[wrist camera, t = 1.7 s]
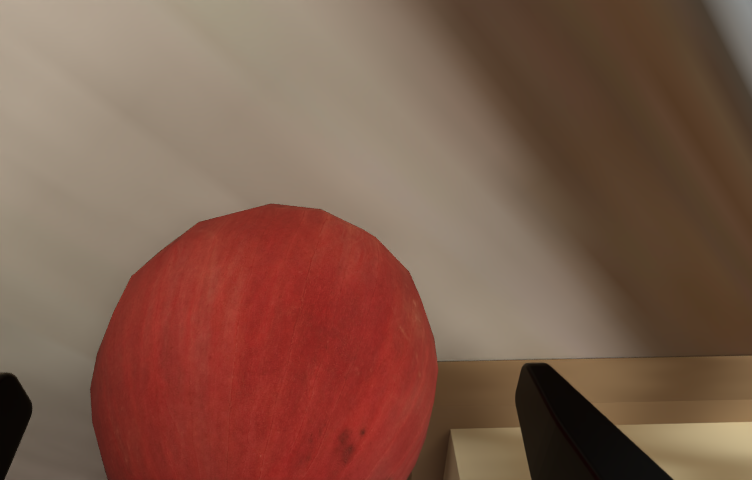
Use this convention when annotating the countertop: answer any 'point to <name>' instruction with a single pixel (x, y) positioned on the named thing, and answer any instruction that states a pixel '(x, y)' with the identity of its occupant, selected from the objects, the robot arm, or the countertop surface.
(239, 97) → the countertop surface
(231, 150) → the countertop surface
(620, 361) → the cradle board
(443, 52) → the countertop surface
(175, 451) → the onion
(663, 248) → the countertop surface
